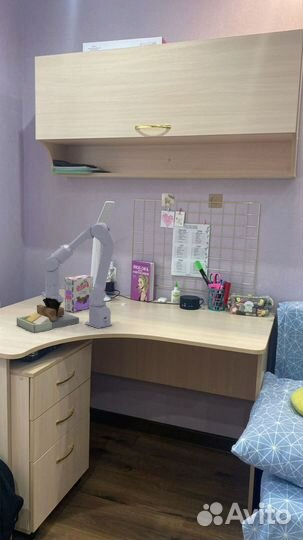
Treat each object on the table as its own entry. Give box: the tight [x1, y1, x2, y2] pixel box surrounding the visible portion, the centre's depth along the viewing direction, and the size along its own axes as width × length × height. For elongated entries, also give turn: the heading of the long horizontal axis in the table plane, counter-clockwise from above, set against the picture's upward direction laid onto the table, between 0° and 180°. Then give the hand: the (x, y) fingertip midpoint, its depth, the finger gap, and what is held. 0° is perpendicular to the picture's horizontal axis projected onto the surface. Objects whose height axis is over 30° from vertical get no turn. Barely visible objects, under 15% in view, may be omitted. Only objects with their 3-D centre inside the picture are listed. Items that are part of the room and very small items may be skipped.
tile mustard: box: [26, 312, 42, 324], centre depth 183 cm, size 5×5×2 cm
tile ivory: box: [33, 315, 50, 325], centre depth 179 cm, size 5×5×2 cm
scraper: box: [36, 304, 65, 321], centre depth 186 cm, size 12×9×4 cm
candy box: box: [64, 274, 94, 314], centre depth 210 cm, size 14×6×16 cm, turn 143°
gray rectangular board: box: [16, 311, 80, 334], centre depth 185 cm, size 15×22×3 cm
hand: (52, 315), depth 186 cm, fingers closed on scraper, 3 cm apart
